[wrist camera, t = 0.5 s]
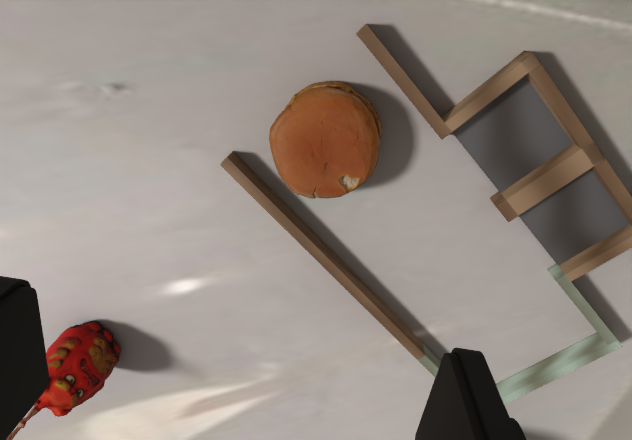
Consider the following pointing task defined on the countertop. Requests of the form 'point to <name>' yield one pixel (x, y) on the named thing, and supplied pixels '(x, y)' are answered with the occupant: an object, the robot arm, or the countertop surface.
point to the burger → (326, 140)
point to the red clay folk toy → (75, 369)
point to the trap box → (506, 197)
